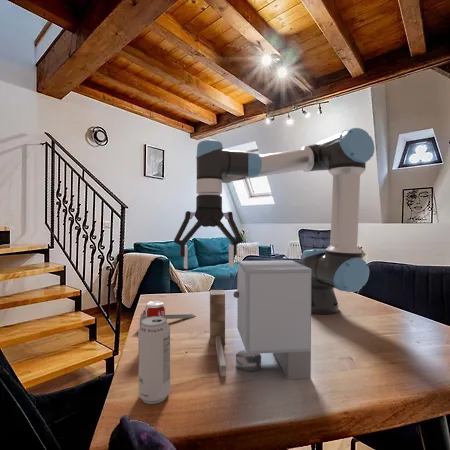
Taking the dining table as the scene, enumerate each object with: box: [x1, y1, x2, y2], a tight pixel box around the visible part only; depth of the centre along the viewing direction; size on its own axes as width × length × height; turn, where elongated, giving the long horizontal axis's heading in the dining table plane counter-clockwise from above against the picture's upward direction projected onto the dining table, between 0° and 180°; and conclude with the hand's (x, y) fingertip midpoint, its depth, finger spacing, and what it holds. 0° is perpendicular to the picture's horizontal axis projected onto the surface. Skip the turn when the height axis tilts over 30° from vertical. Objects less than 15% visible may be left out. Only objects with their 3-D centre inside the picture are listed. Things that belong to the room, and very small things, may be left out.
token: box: [235, 349, 262, 373], centre depth 68 cm, size 6×6×2 cm
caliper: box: [139, 309, 197, 327], centre depth 96 cm, size 20×1×6 cm, turn 128°
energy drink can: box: [137, 316, 171, 405], centre depth 56 cm, size 6×6×15 cm
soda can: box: [144, 300, 166, 318], centre depth 77 cm, size 5×5×12 cm
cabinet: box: [233, 259, 312, 381], centre depth 67 cm, size 16×13×24 cm
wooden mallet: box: [209, 289, 227, 378], centre depth 73 cm, size 4×21×14 cm, turn 6°
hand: (208, 267), depth 84 cm, fingers open, 13 cm apart
